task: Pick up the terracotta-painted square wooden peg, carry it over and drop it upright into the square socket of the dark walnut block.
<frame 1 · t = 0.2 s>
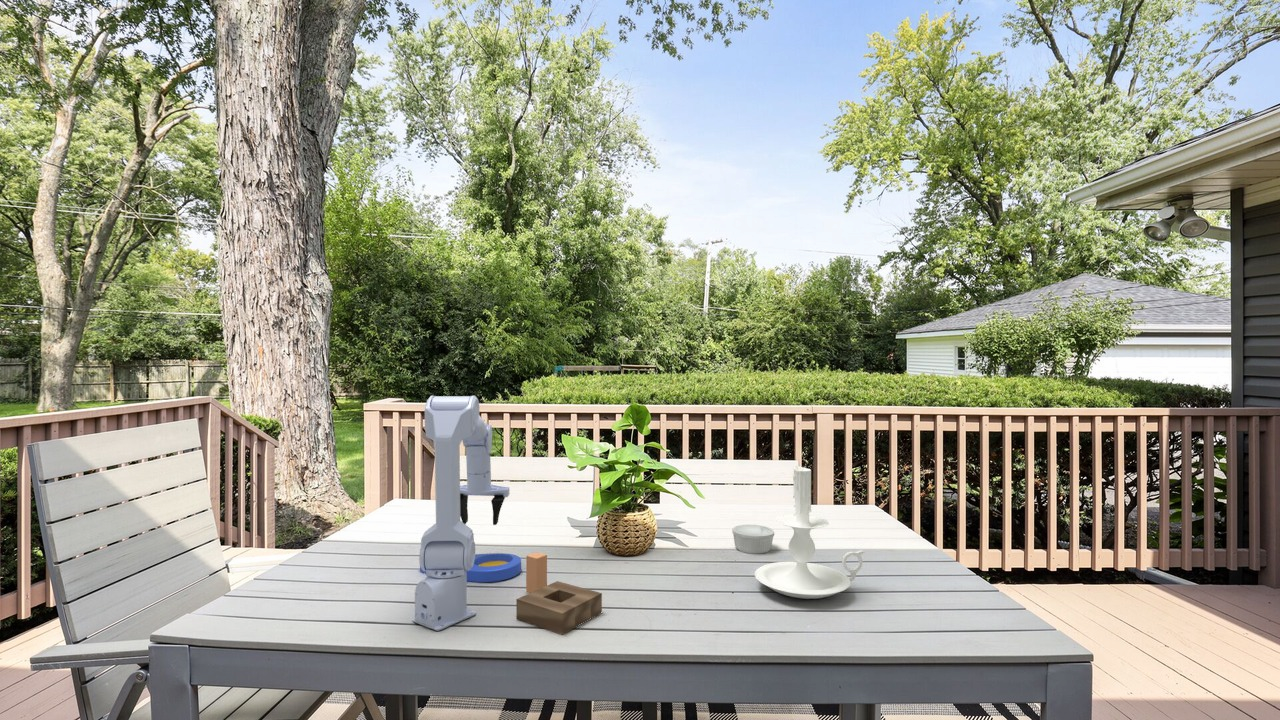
hand: (480, 523, 153), 11 cm above the table, tool pointing down, fingers open, 7 cm apart
location marker: (469, 574, 148), on the table
peg: (536, 591, 135), on the table
candlestick: (810, 591, 136), on the table
socket block: (559, 616, 122), on the table
ramekin: (753, 549, 167), on the table
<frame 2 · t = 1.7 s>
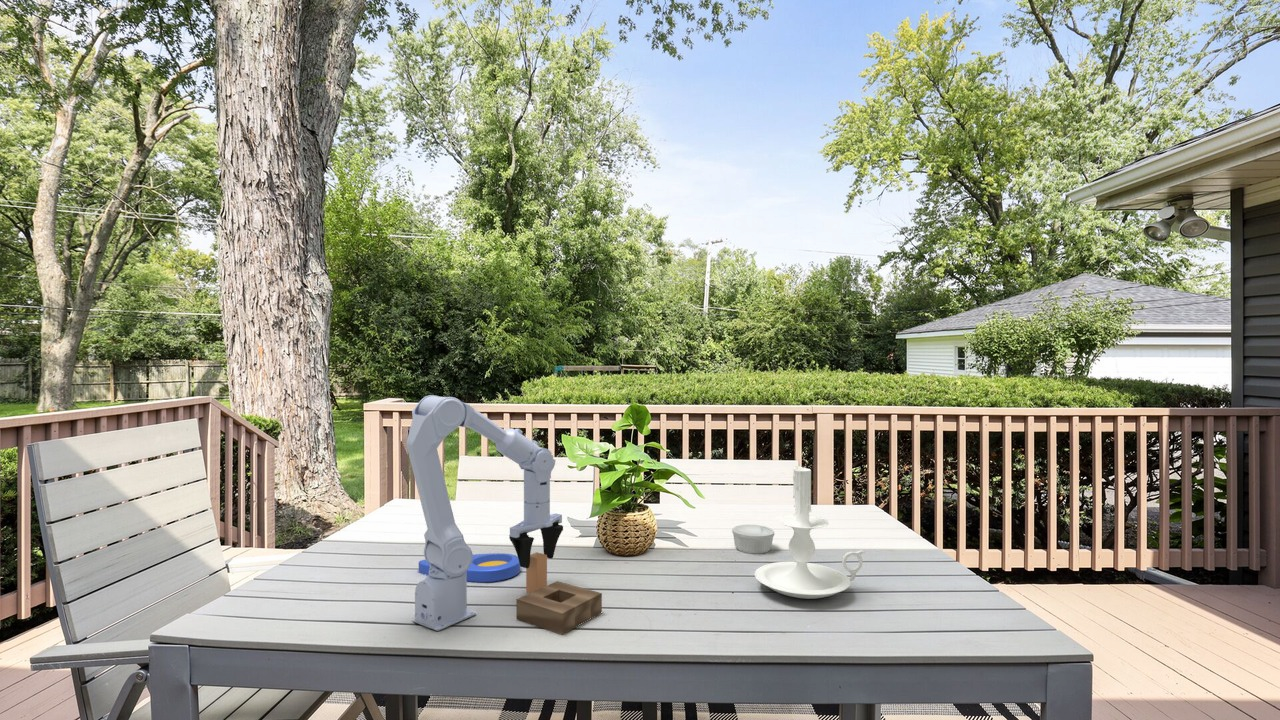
hand: (536, 562, 135), 6 cm above the table, tool pointing down, fingers open, 7 cm apart
nothing on the table moved.
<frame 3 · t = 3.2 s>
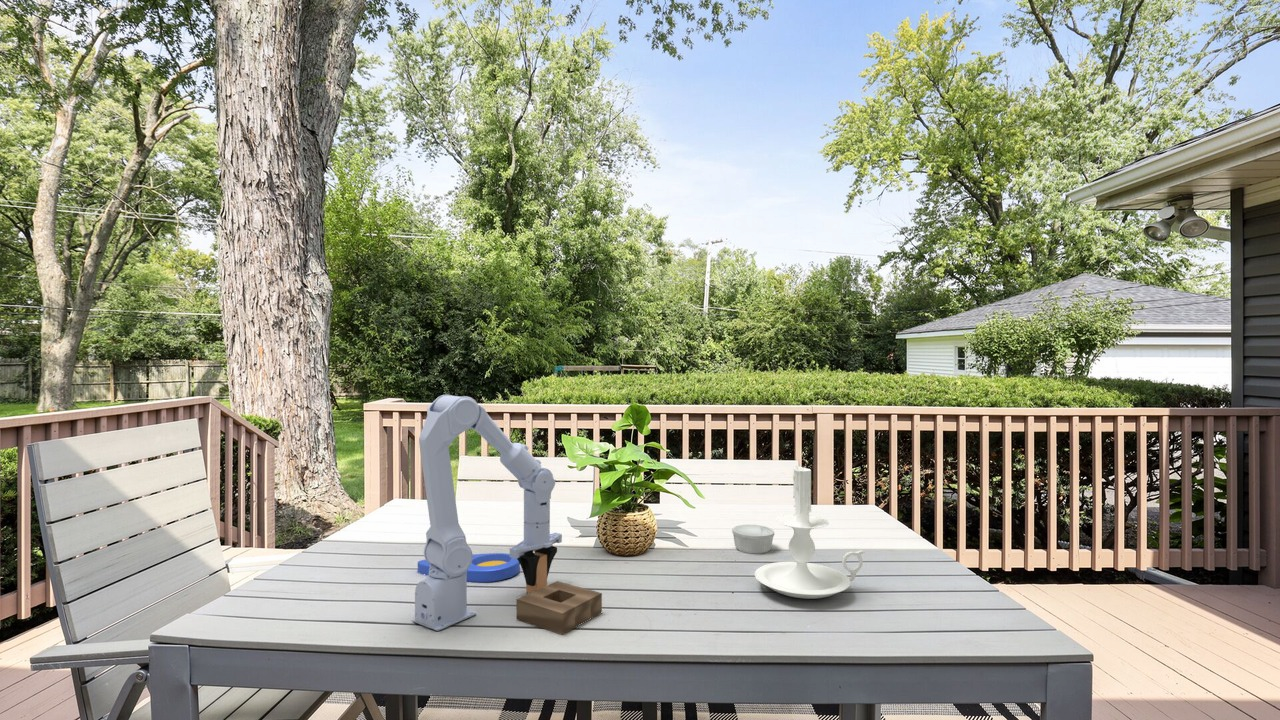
hand: (536, 582, 135), 2 cm above the table, tool pointing down, fingers closed on peg, 3 cm apart
peg: (536, 591, 135), on the table, touching gripper
everything else where it was.
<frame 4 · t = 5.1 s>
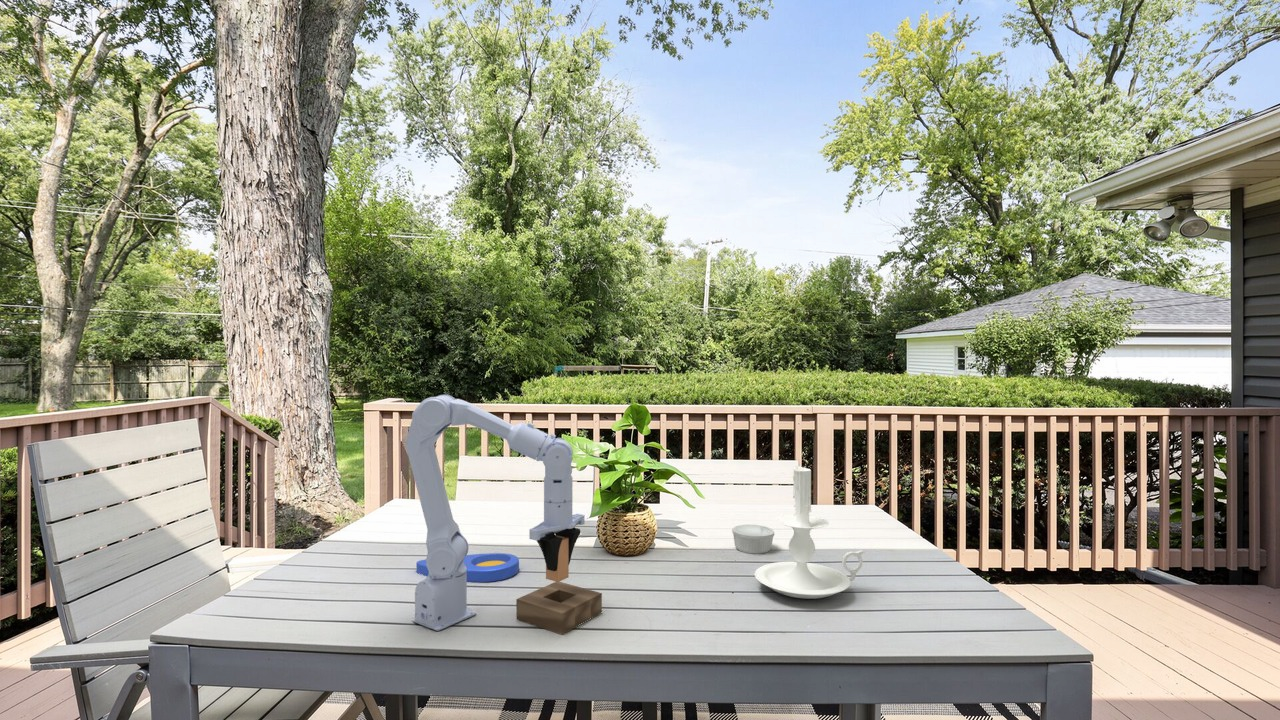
hand: (558, 567, 123), 9 cm above the table, tool pointing down, fingers closed on peg, 3 cm apart
peg: (557, 578, 123), point 7 cm above the table, touching gripper
everything else where it was.
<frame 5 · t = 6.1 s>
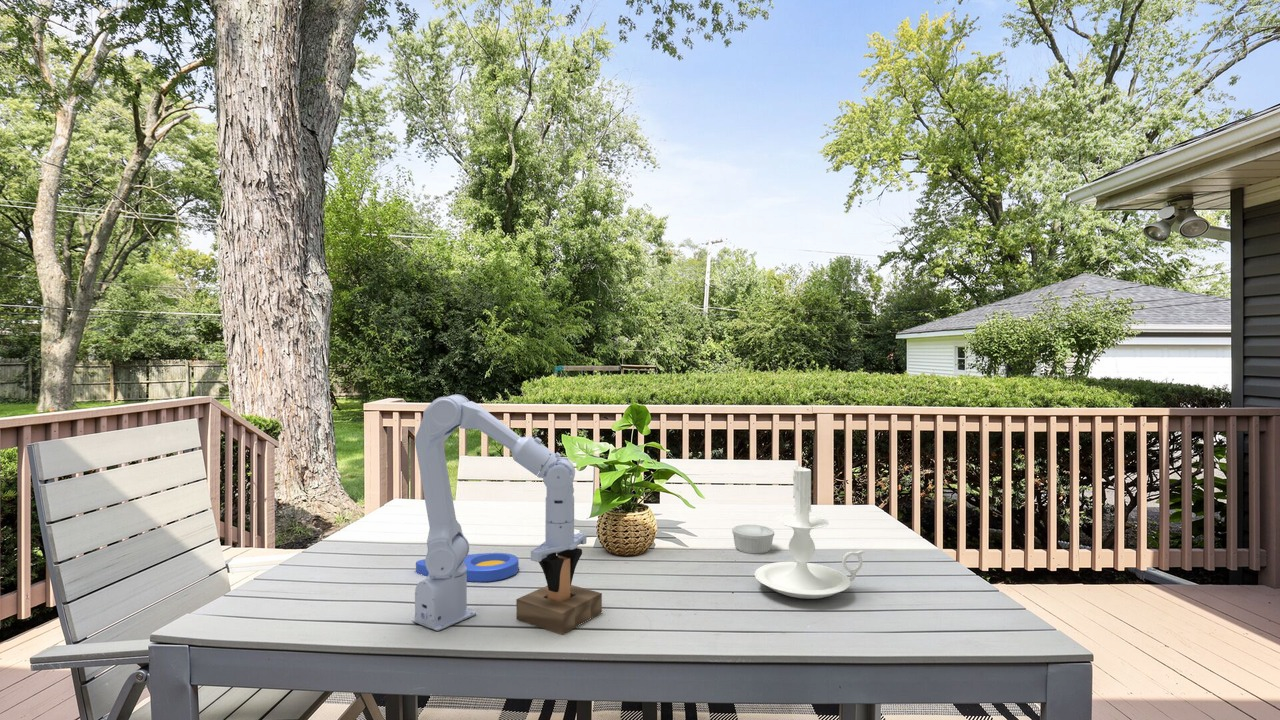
hand: (559, 587, 122), 6 cm above the table, tool pointing down, fingers closed on peg, 3 cm apart
peg: (558, 598, 122), point 3 cm above the table, touching gripper
everything else where it was.
when the fingers open (5 cm above the table, at t = 7.1 s): peg drops 2 cm, resting on socket block.
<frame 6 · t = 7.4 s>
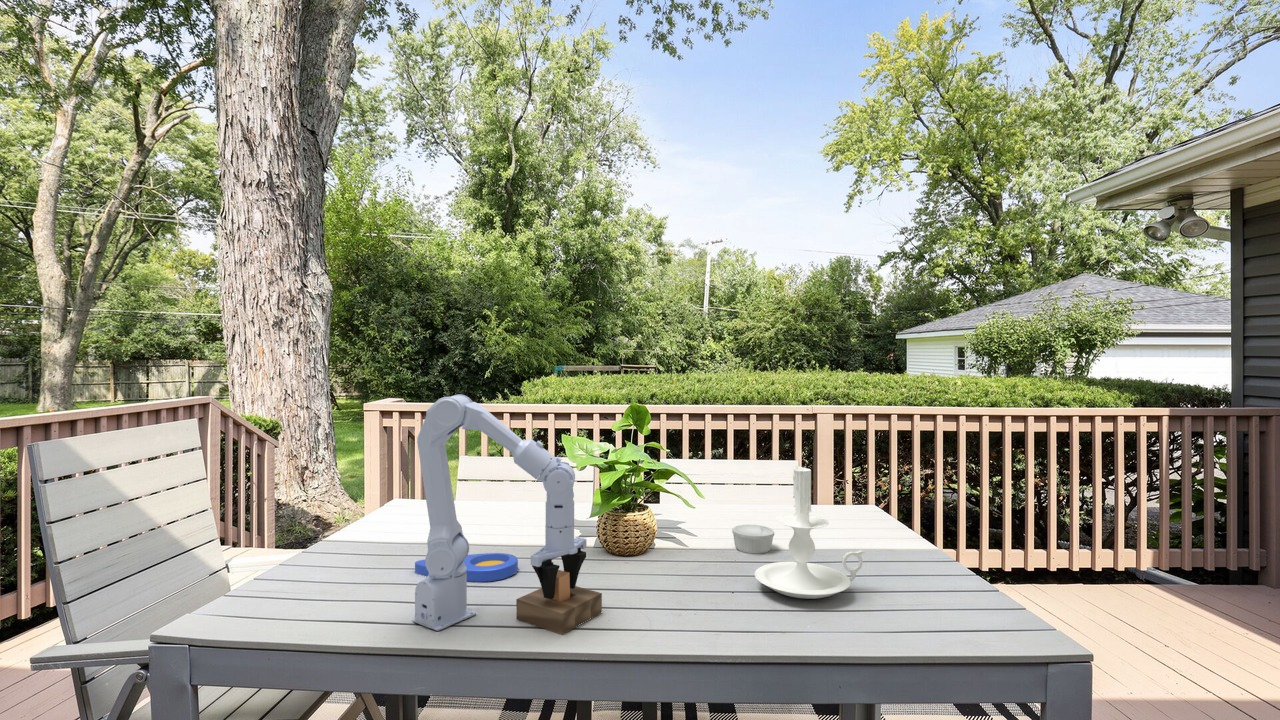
hand: (559, 592, 122), 5 cm above the table, tool pointing down, fingers open, 6 cm apart
peg: (558, 613, 122), point 1 cm above the table, touching socket block
everything else where it was.
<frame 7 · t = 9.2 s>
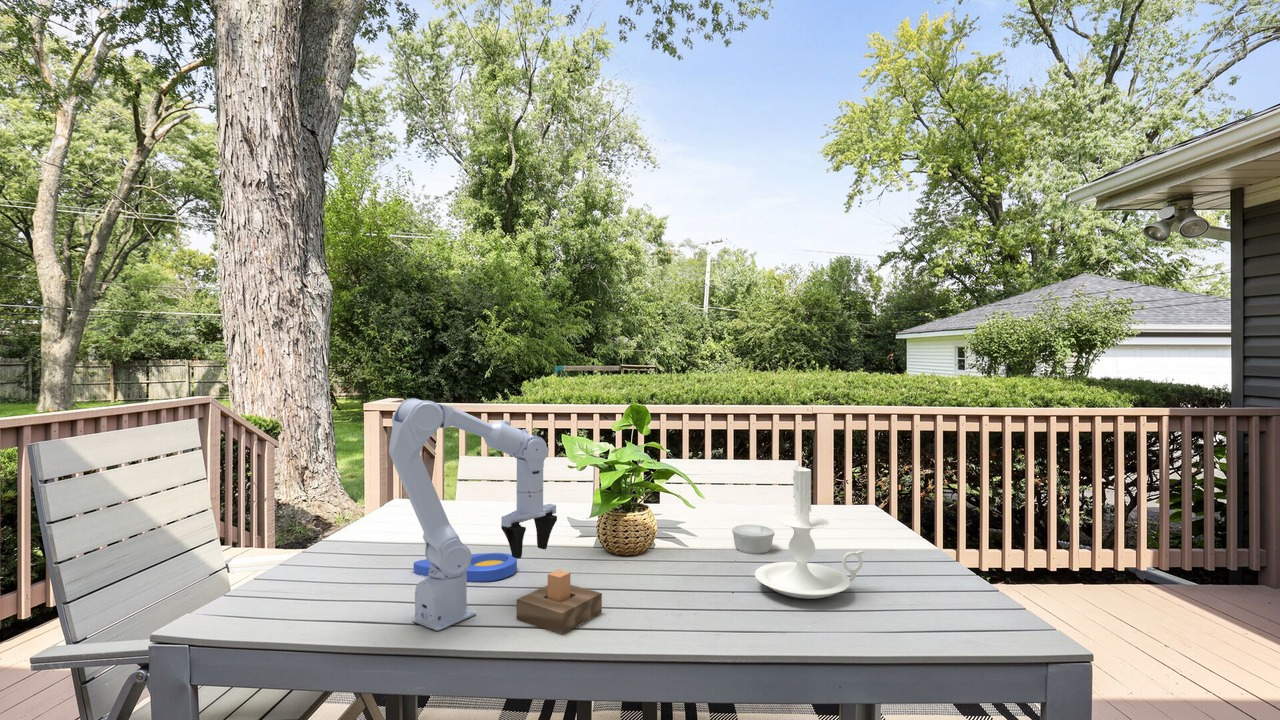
hand: (529, 552, 133), 9 cm above the table, tool pointing down, fingers open, 7 cm apart
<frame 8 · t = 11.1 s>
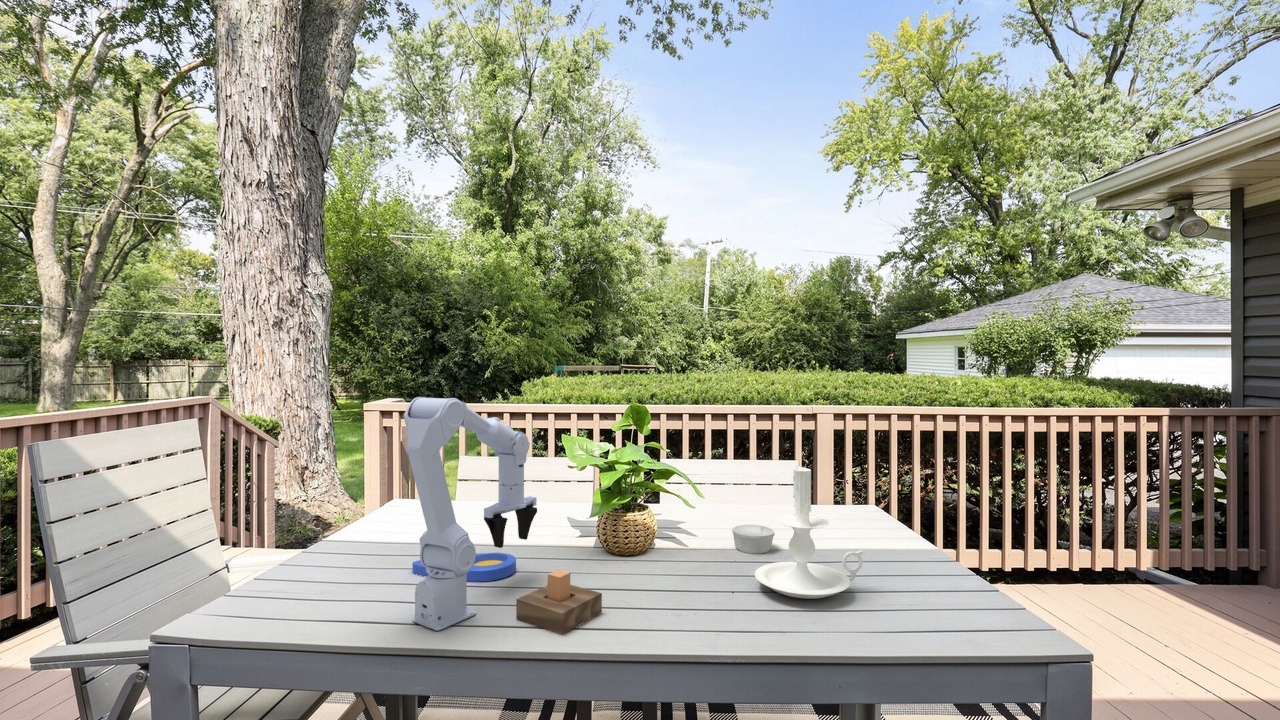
hand: (511, 542, 140), 9 cm above the table, tool pointing down, fingers open, 7 cm apart
at the end: peg 0.2 cm off-centre on the socket block, point 0.5 cm above the socket block's base; peg tilted 0°; the gripper is holding nothing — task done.
